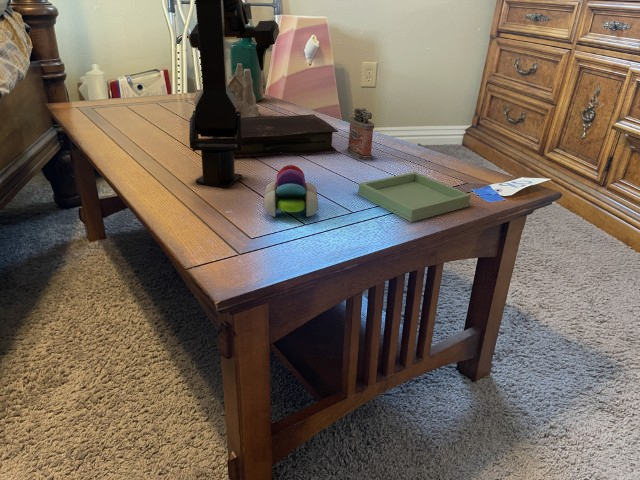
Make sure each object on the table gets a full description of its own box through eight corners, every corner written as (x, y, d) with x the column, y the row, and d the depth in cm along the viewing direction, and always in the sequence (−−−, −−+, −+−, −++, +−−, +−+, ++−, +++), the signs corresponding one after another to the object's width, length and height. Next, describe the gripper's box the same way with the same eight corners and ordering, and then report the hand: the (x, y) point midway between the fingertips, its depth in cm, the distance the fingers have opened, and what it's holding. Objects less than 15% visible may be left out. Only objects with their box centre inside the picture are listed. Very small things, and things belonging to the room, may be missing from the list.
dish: (410, 222, 80) (412, 209, 80) (358, 194, 90) (358, 183, 90) (469, 206, 88) (471, 194, 87) (414, 182, 97) (415, 171, 97)
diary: (211, 137, 120) (210, 115, 118) (312, 132, 128) (313, 112, 126) (224, 160, 105) (223, 136, 102) (338, 153, 112) (339, 131, 110)
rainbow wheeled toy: (316, 199, 87) (317, 159, 84) (317, 223, 79) (319, 178, 75) (266, 198, 87) (266, 157, 84) (262, 222, 78) (262, 177, 75)
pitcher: (229, 101, 158) (226, 24, 148) (239, 96, 165) (237, 22, 155) (259, 104, 156) (258, 26, 146) (268, 99, 163) (268, 24, 154)
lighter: (343, 150, 115) (346, 105, 110) (357, 149, 116) (360, 104, 112) (361, 161, 108) (364, 113, 104) (375, 159, 110) (379, 112, 105)
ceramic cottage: (266, 112, 144) (261, 57, 137) (244, 128, 130) (238, 67, 123) (215, 111, 148) (208, 56, 141) (189, 126, 134) (180, 66, 127)
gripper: (277, -19, 107) (289, 50, 119) (194, -14, 111) (214, 53, 122) (266, 5, 100) (280, 76, 112) (178, 9, 103) (200, 78, 115)
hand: (243, 70), depth 115 cm, fingers open, 9 cm apart
